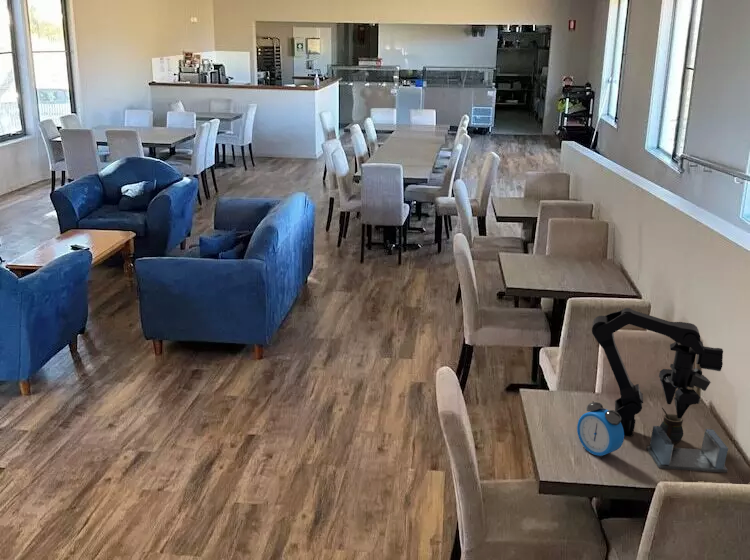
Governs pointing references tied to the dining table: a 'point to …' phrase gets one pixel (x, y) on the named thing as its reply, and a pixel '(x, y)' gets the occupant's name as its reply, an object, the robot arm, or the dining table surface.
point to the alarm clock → (600, 430)
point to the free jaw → (661, 445)
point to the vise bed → (698, 456)
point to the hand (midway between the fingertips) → (674, 410)
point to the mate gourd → (672, 427)
